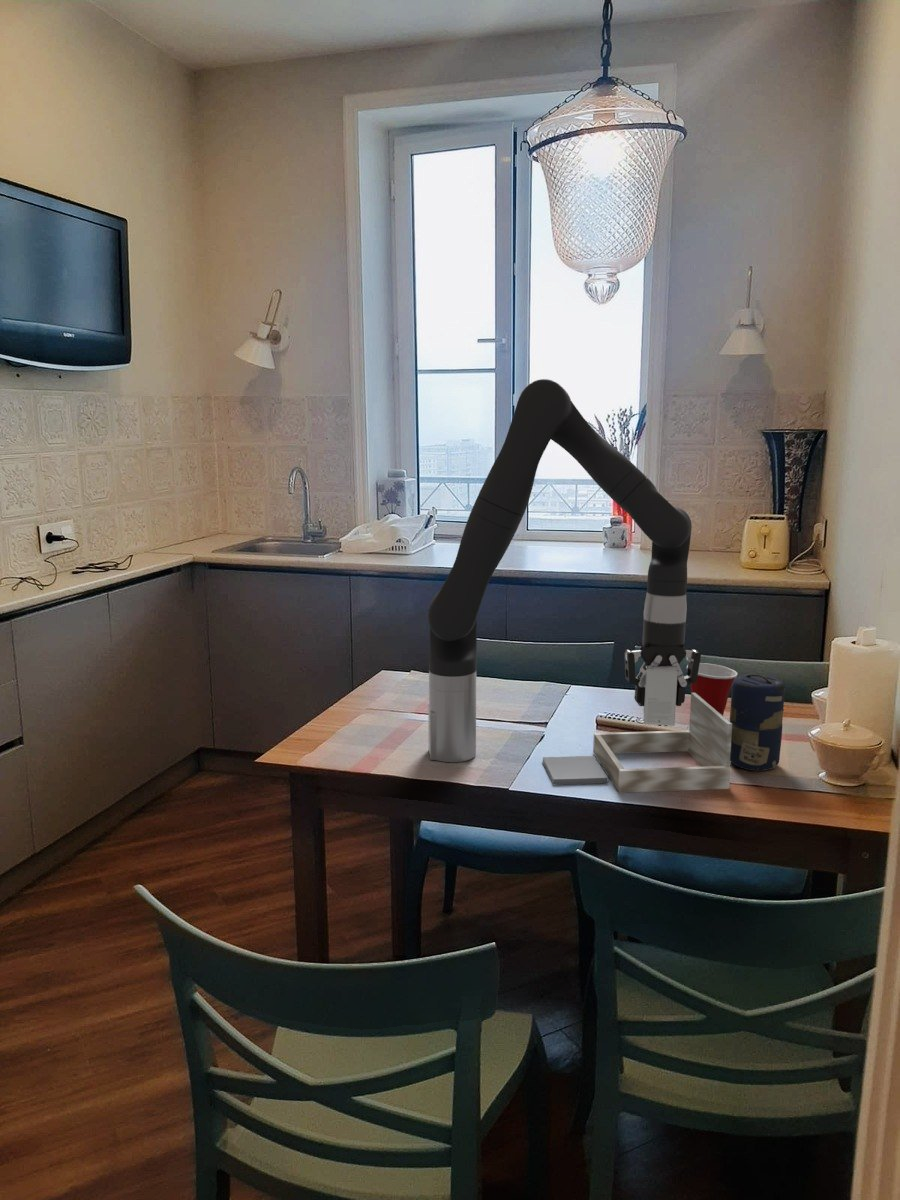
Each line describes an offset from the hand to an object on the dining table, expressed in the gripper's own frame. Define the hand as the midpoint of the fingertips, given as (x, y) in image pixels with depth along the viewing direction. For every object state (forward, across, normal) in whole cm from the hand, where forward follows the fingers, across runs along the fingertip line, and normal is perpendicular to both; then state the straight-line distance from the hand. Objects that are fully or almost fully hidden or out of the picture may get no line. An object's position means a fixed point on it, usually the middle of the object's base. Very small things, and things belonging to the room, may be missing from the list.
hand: (659, 704), depth 167 cm
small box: (+3, 0, 0) cm, 3 cm away
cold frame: (+13, 0, 0) cm, 13 cm away
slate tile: (+13, -16, 0) cm, 20 cm away
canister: (+13, +20, +1) cm, 23 cm away
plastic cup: (+13, +20, +27) cm, 36 cm away
